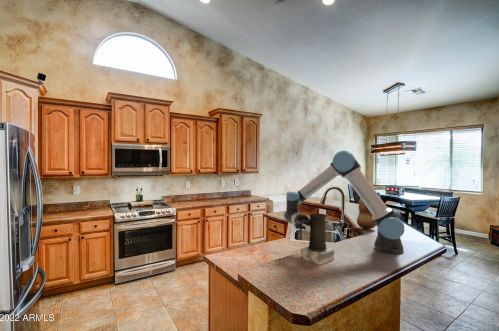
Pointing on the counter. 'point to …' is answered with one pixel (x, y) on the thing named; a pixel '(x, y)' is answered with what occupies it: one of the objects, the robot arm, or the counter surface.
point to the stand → (317, 255)
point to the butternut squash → (365, 217)
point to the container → (317, 232)
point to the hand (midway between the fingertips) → (321, 228)
